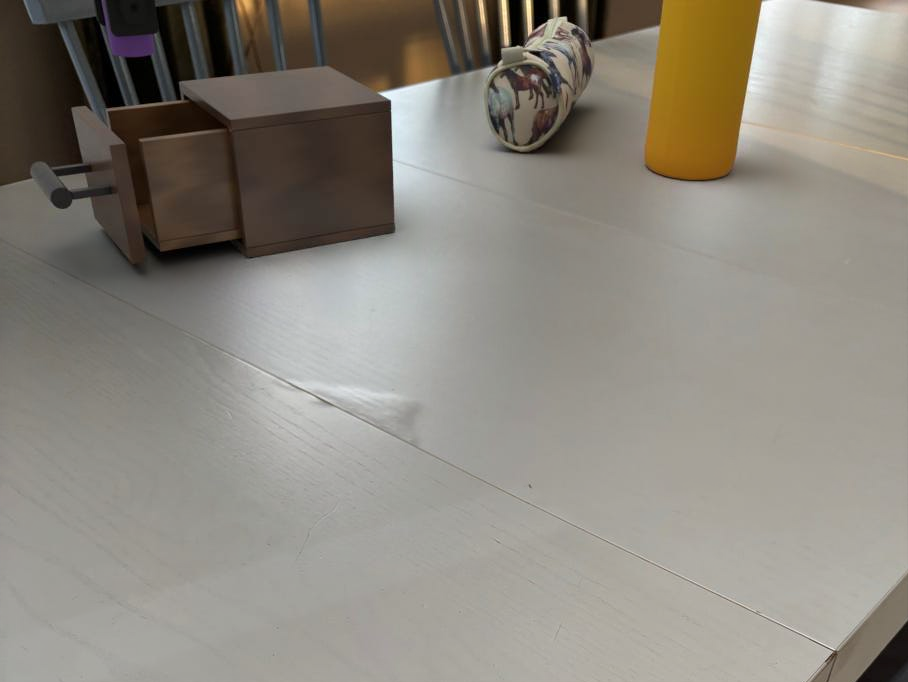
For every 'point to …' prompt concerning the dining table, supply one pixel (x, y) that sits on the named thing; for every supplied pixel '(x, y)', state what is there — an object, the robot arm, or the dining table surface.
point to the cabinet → (304, 156)
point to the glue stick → (129, 42)
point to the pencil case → (538, 84)
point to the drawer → (152, 176)
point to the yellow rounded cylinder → (700, 86)
